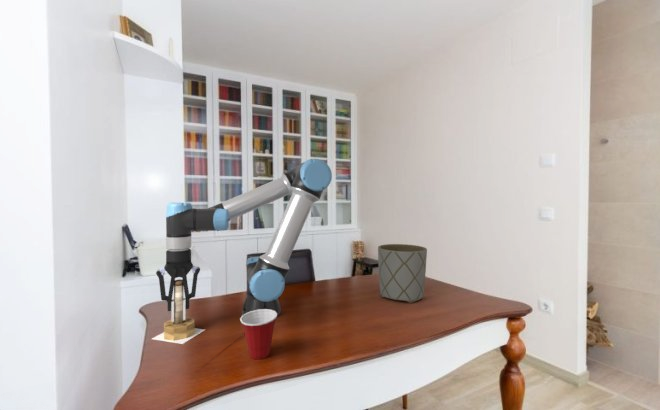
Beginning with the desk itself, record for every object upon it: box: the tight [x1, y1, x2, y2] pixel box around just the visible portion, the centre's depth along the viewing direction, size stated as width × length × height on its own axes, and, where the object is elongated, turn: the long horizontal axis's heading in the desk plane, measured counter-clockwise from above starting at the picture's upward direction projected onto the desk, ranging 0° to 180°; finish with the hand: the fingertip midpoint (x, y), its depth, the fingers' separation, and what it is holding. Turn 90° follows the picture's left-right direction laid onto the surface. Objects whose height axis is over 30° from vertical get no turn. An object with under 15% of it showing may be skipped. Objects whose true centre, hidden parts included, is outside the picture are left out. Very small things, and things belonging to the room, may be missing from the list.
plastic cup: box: [239, 309, 278, 360], centre depth 93 cm, size 11×11×12 cm
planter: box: [377, 243, 428, 304], centre depth 150 cm, size 23×23×24 cm
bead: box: [163, 316, 196, 341], centre depth 105 cm, size 9×9×4 cm
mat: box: [151, 327, 205, 345], centre depth 105 cm, size 12×11×1 cm
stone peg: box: [173, 279, 184, 325], centre depth 105 cm, size 3×3×18 cm
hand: (178, 319), depth 105 cm, fingers closed on stone peg, 3 cm apart
